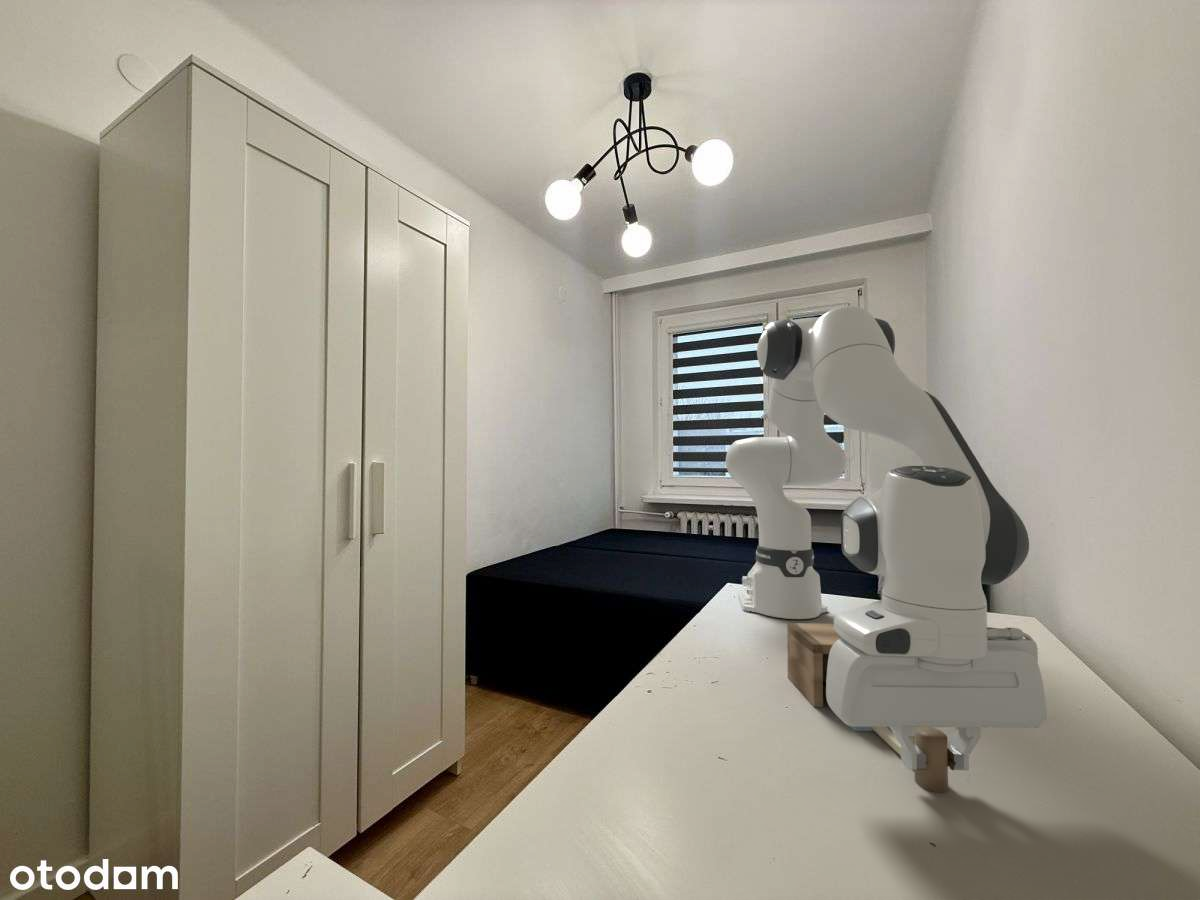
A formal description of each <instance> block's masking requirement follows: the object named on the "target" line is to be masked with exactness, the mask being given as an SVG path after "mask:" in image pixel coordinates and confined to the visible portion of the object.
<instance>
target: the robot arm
mask: <svg viewBox="0 0 1200 900" xmlns="http://www.w3.org/2000/svg"><path fill="white" fill-rule="evenodd" d="M895 337H896V336H895V332H894V330H893V328H892V327H891V325H890V323H889V322H888V321H886V320H883V319H881V318H877V317H874V316H873V315H872V314H871V313H870V311H868V310H866V309H865V308H863V307H860V306H855V305H844V306H838V307H835V308H833V309H830V310H828V311H827V312H825V313H824V314H823V315H821V316H818V317H817V316H816V317H805V318H797V319H796V318H795V319H790V318H784V319H783V318H782V319H778V320H775V321H771V322H769V323H768V324H766V326H765V327H764V328H763V329H762V332H761V335H760V337H759V339H758V343H757V347H756V355H757V356H756V357H757V361H758V364H759V367H760V371H761V372H762V373H763V374H764V375H765V376H766V377H768V378H771V379H772V381H771V386H770V387H771V388H770V393H769V399H768V403H767V404H768V405H767V408H766V409H767V410H766V411H767V413H766V414H767V419H768V421H769V422H770V424H771V425H772V426H773V427H774V428H775V429H776V430H778V431H779V432H781V433H782V434H785V435H787V436H754V437H753V436H752V437H748V438H742V439H738V440H735V441H734V442H732V444H731V445H730V446H729V448H728V449H727V452H726V456H725V466H726V470H727V472H728V474H729V476H730V477H731V479H733V480H734V481H735V482H736V483H737V484H738V485H740V486H741V487H742V488H743V489H744V490H745V491H746V492H747V494H748V495H749V496H750V498H751V499H752V503H753V504H754V506H755V510H756V514H757V522H758V523H757V524H758V525H757V527H758V545H757V547H756V550H755V561H756V562H755V563H754V565H753V566H752V567H751V569H750V570H749V571H748V573H747V575H746V576H745V575H743V576H742V577H741V584H742V587H747V589H741V590H738V593H737V596H739V597H738V600H739V599H740V600H739V603H740V606H741V608H742V610H743V611H746V612H750V611H751V612H750V613H757V614H762V615H764V616H769V617H773V618H779V619H780V618H781V619H789V620H808V619H815V618H817V617H819V616H820V615H821V614H823V613H824V614H825V613H827V612H828V610H829V609H828V606H827V605H825V604H823V603H822V592H821V590H822V589H821V578H820V577H821V576H820V574H819V573H818V571H816V570H815V569H814V567H813V566H814V565H815V564H814V563H815V562H814V559H815V554H814V549H813V548H812V518H811V515H810V513H809V511H808V509H806V508H805V507H804V506H802V505H801V504H799V503H798V502H796V501H793V500H791V499H789V498H787V496H786V495H785V491H784V486H804V487H805V486H808V487H809V486H810V487H811V486H813V487H814V486H819V485H820V486H822V485H826V484H832V483H836V482H837V481H839V479H840V478H841V477H842V475H843V474H844V472H845V470H846V465H847V461H846V460H847V459H846V458H847V457H846V454H845V451H844V449H843V448H842V446H841V444H840V443H839V442H838V441H836V440H835V439H833V438H832V437H830V435H828V433H827V431H826V428H825V424H824V423H825V422H824V418H825V415H826V417H828V419H831V421H833V422H835V423H837V424H838V425H840V426H843V427H845V428H847V429H851V430H854V431H859V432H863V433H867V434H871V435H875V436H879V437H882V438H885V439H887V440H890V441H893V442H897V443H898V444H900V445H903V446H905V447H907V449H910V451H912V452H914V453H915V455H916V456H917V457H918V458H919V460H920V462H921V463H922V465H905V466H900V467H896V468H893V469H891V470H889V471H888V472H887V473H886V475H885V477H884V481H883V485H882V487H880V489H878V490H877V491H875V492H873V493H871V494H869V495H865V496H859V497H857V498H856V499H855V500H853V501H852V502H851V503H850V504H849V505H848V506H847V507H846V508H845V509H844V510H843V512H842V513H841V516H840V543H841V545H840V546H841V551H842V554H843V555H844V556H845V558H847V560H848V561H849V562H850V563H851V564H852V565H854V566H855V567H856V569H858V570H860V571H861V572H863V573H868V574H871V575H874V576H875V575H876V576H883V577H884V580H883V583H882V584H883V585H882V589H881V599H879V600H876V601H873V602H871V603H869V604H866V605H863V606H860V607H857V608H854V609H850V610H847V611H845V612H841V613H839V614H836V616H834V619H833V624H834V629H835V631H836V633H837V634H838V635H839V636H840V637H842V638H840V639H838V640H837V641H836V642H835V643H834V644H833V646H832V647H831V650H830V653H829V659H828V667H827V679H826V683H825V684H826V685H825V697H826V702H827V704H828V706H829V708H830V710H832V712H833V713H834V714H835V715H836V716H837V717H838V718H839V719H840V720H841V721H842V722H843V723H844V724H845V725H847V726H848V727H850V726H875V727H890V728H891V730H892V731H891V732H892V733H893V734H894V735H895V737H896V739H897V740H898V742H899V744H901V755H900V760H901V762H902V764H903V765H904V767H906V768H907V769H908V770H909V771H915V770H926V764H925V762H926V753H925V752H923V751H922V750H920V749H919V747H918V746H916V745H915V744H914V742H913V741H912V740H911V738H914V736H915V727H931V728H955V729H956V730H955V732H954V734H953V736H952V738H951V740H950V742H949V744H948V743H947V753H948V768H949V769H950V770H951V771H962V772H963V771H964V772H965V771H969V770H970V755H971V753H972V752H973V750H975V747H976V745H978V742H979V741H980V740H981V736H982V733H981V731H982V729H981V728H987V729H988V728H990V729H993V728H996V729H997V728H998V729H999V728H1001V729H1003V728H1004V729H1006V728H1007V729H1008V728H1009V729H1023V728H1024V729H1038V728H1040V727H1041V726H1042V725H1043V723H1044V722H1045V720H1046V719H1047V717H1048V710H1047V700H1046V692H1045V687H1044V681H1043V677H1042V673H1041V668H1040V665H1039V661H1038V659H1039V658H1038V657H1039V655H1038V654H1039V652H1038V645H1037V641H1034V639H1033V637H1032V636H1030V635H1029V634H1028V633H1026V632H1023V630H1022V629H1020V628H1018V627H1017V628H1016V627H1004V628H999V627H993V626H992V627H990V626H988V603H987V598H986V594H985V593H984V590H983V585H991V586H992V585H993V586H995V585H998V584H1000V583H1002V582H1004V581H1005V580H1007V579H1008V578H1010V577H1011V576H1013V574H1015V572H1017V571H1018V569H1020V567H1022V565H1023V563H1024V562H1025V561H1026V559H1027V557H1028V555H1029V551H1030V540H1029V535H1028V534H1029V533H1028V530H1027V528H1026V526H1025V523H1024V522H1023V520H1022V519H1021V517H1020V516H1019V514H1018V513H1017V512H1016V511H1015V509H1014V508H1013V507H1012V505H1011V504H1009V502H1008V501H1007V500H1006V499H1005V498H1004V497H1003V496H1002V495H1001V494H1000V493H999V491H998V490H997V488H995V486H994V484H993V483H992V482H991V480H990V478H989V477H988V475H987V474H986V472H985V471H984V469H983V467H982V466H981V464H980V462H979V461H978V459H977V456H975V454H974V453H973V451H972V449H971V447H970V446H969V445H968V443H967V441H966V439H965V438H964V436H963V434H962V433H961V432H960V430H959V428H958V426H957V425H956V423H955V422H954V420H953V418H952V417H951V415H950V414H949V412H948V411H947V409H946V408H945V406H944V405H943V404H942V403H941V401H940V400H939V399H938V398H937V397H935V396H934V395H933V394H931V393H929V392H928V391H926V390H923V389H922V388H920V387H919V386H918V385H917V384H916V383H914V382H913V381H912V380H911V379H910V378H909V377H908V376H907V375H906V374H905V373H904V372H903V371H902V369H901V368H900V367H899V364H898V363H897V362H896V360H895V350H896V349H895V348H896V338H895Z"/></svg>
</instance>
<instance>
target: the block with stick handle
mask: <svg viewBox="0 0 1200 900" xmlns="http://www.w3.org/2000/svg"><path fill="white" fill-rule="evenodd" d="M849 727H850V728H851V729H852V730H853V731H854V732H875V733H876V734H878V736H879V737H880V738H881V739H882V740H883V741H885V742H886V744H888V745H889V746H890V747H891V749H893V750H894V751H895V752H896V753H897V754H898V755H899V756H901V744H899V742H898V740H897V739H896V737H895V735H894V734H893V732H892V730H891V728H890V727H875V726H849ZM913 744H915V745H916V746H918V747H919V749H920V750H922V751H923V752H925V753H926V762H925V764H926V770H914V781H915V783H916V784H917V785H918V786H919V787H921V788H923V789H924V790H927V791H930V792H933V793H938V794H943V793H946V792H948V791H949V772H948V771H949V767H948V753H947V744H948V736H947V734H946V733H944V732H943V731H941V730H940V729H937V728H935V727H915V736H914V737H913Z"/></svg>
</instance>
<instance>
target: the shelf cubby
mask: <svg viewBox="0 0 1200 900" xmlns="http://www.w3.org/2000/svg"><path fill="white" fill-rule="evenodd" d="M786 629H787V632H786V633H787V679H788V680H789V681H790V682H791V683H792V684H793V686H794V687H795V688H796V689H797V690H798V691H799V692H800V693H801V694H802V696H803V697H805V698H806V700H807V701H808V703H810V704H811V705H812V706H813V707H814V708H824V695H823V694H824V691H823V690H824V685H823V682H824V683H825V682H826V679H827V667H828V659H829V653H830V650H831V647H832V646H833V644H834V643H835V642H836V641H837V640H838V639H840V638H842V637H840V636H839V635H838V634H837V633H836V631H835V629H834V623H830V622H829V623H821V622H819V623H818V622H817V623H815V622H814V623H813V622H812V623H811V622H809V623H808V622H805V623H803V622H799V623H798V622H788V623H787V628H786Z"/></svg>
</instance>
